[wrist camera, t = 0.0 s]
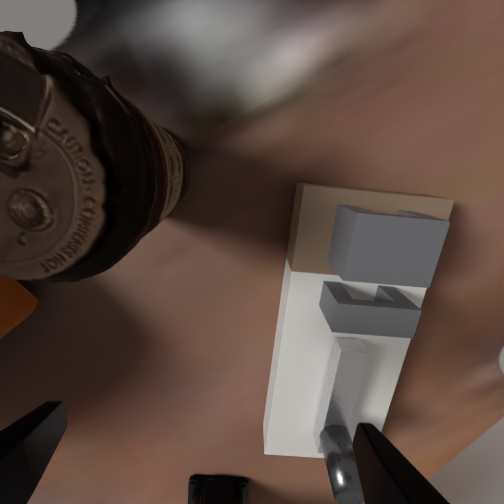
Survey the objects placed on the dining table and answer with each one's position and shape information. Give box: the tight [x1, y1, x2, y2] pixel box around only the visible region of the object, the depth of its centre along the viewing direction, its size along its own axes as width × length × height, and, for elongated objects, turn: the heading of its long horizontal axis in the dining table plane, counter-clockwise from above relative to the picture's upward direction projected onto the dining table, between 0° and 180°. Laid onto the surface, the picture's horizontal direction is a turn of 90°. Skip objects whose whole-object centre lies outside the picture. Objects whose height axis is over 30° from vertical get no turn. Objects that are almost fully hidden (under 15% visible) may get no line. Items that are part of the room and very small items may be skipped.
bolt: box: [314, 337, 369, 504], centre depth 20 cm, size 10×2×6 cm, turn 175°
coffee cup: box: [0, 31, 190, 283], centre depth 14 cm, size 9×8×13 cm
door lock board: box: [263, 183, 455, 458], centre depth 21 cm, size 24×10×6 cm, turn 175°
